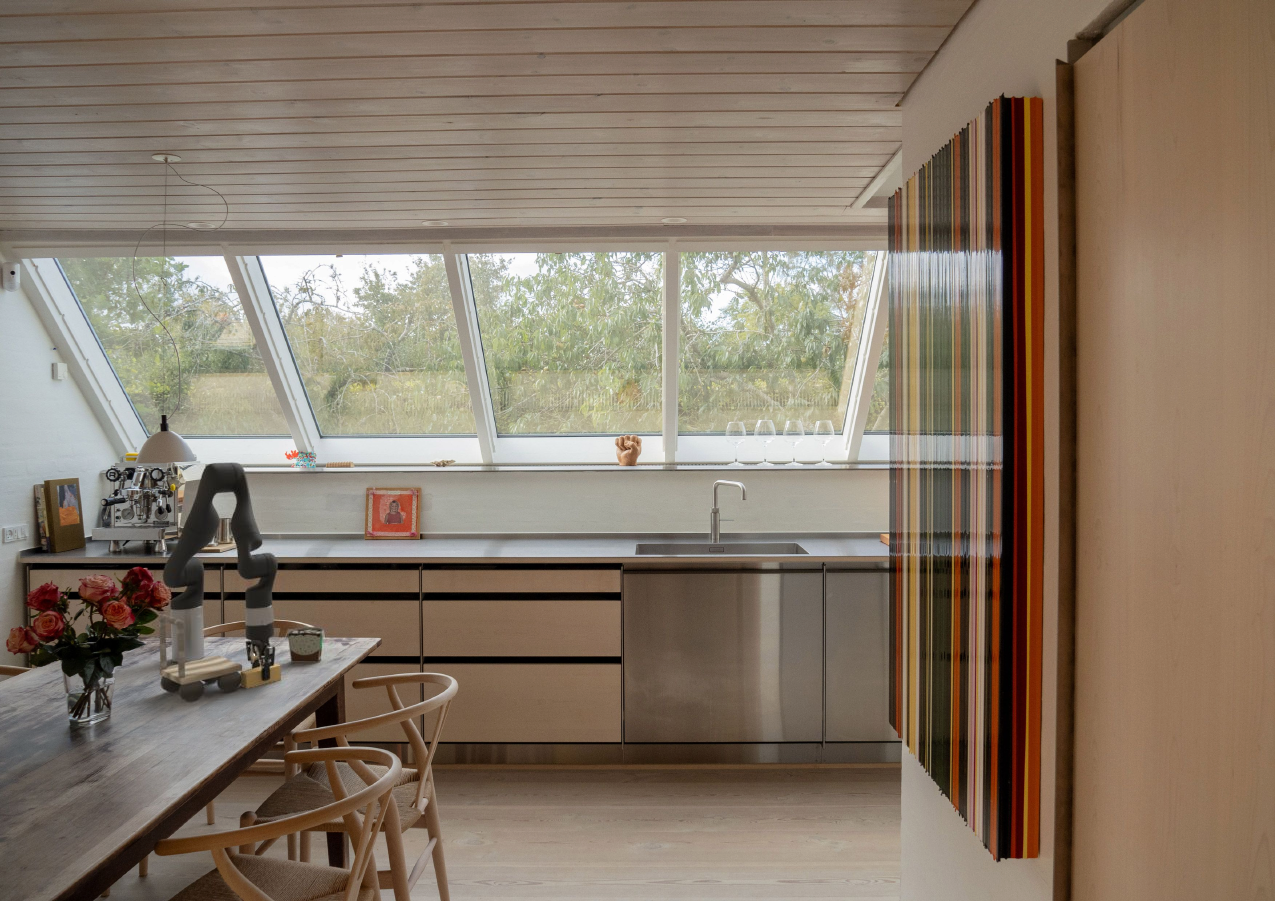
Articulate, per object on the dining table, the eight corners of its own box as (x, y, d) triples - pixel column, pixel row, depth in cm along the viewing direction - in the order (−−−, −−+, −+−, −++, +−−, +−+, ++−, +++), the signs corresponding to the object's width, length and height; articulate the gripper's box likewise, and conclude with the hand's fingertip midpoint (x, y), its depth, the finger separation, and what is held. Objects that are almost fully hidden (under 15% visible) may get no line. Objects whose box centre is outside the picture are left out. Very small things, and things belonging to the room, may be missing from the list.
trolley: (159, 693, 221) (156, 614, 220) (219, 678, 233) (216, 603, 233) (181, 705, 211) (179, 621, 210) (242, 689, 223) (240, 610, 223)
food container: (332, 656, 255) (331, 626, 255) (323, 662, 249) (322, 631, 249) (297, 656, 256) (296, 626, 256) (286, 661, 250) (286, 631, 250)
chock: (240, 686, 226) (240, 671, 226) (274, 677, 234) (274, 663, 234) (246, 689, 224) (246, 673, 224) (281, 680, 232) (280, 665, 231)
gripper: (235, 620, 230) (237, 676, 231) (257, 627, 221) (259, 686, 221) (261, 615, 236) (262, 670, 236) (283, 622, 227) (285, 679, 227)
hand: (261, 677), depth 229 cm, fingers open, 5 cm apart
